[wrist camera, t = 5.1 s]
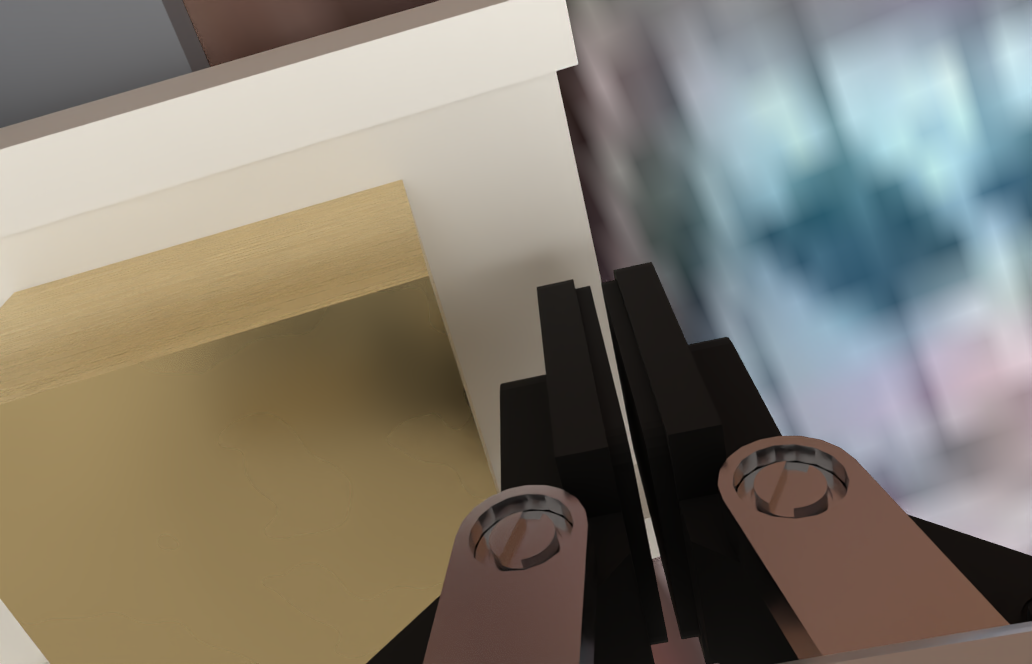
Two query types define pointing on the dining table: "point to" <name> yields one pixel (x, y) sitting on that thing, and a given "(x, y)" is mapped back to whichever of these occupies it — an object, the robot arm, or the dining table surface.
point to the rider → (236, 445)
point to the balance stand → (89, 51)
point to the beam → (336, 175)
